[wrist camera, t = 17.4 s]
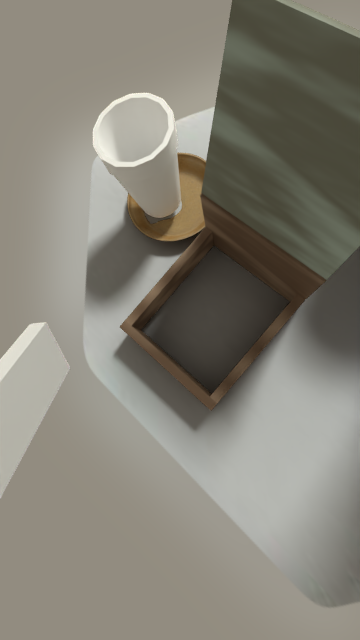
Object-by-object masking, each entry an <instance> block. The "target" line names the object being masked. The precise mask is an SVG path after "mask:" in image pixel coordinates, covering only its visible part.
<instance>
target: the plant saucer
mask: <svg viewBox="0 0 360 640" xmlns="http://www.w3.org/2000/svg"><path fill="white" fill-rule="evenodd" d="M177 157H178V168H179V180H180V191H181V201H182V209H181V211H180V212H179V213H178V214H177V215H175V216H174V217H173V218H171V219H165V220H161V221H158V223H153V224H151V223H149V221H148V220H147V218H146V216H145V214H144V210H143V209H142V208H141V207H140V206H139V205H138V203H137V202H136V201H135V200H134V199H133V198H132V196H131V195H130V194H129V193H128V200H127V206H128V212H129V215H130V218H131V220H132V222H133V223H134V225H135V226H136V227H137V228H138V229H139V230H140V231H141V232H142V233H143V234H145V235H147V236H148V237H150V238H153V239H156V240H160V241H178V240H182V239H186V238H188V237H191V236H193V235H195V234H196V233H198V232H199V231H201V230H202V229H203V228H205V221H204V215H203V210H202V204H201V198H200V195H201V191H202V185H203V179H204V173H205V167H206V161H205V160H204V159H202V158H201V157H199V156H196V155H193V154H189V153H177Z"/></svg>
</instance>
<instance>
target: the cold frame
mask: <svg viewBox="0 0 360 640" xmlns="http://www.w3.org/2000/svg"><path fill="white" fill-rule="evenodd" d="M200 198H201V204H202V210H203V215H204V221H205V228H204V229H203V230H202V232H201V233H200V234H199V235H198V236H197V237H196V238H195V240H194V241H193V242H192V243H191V244H190V245H189V247H188V248H187V249H186V250H185V251H184V252H183V254H182V255H181V256H180V257H179V258H178V259H177V261H176V262H175V263H174V264H173V265H172V266H171V268H170V269H169V270H168V271H167V272H166V273H165V275H164V276H163V277H162V278H161V279H160V280H159V282H158V283H157V284H156V285H155V286H154V287H153V289H152V290H151V291H150V292H149V293H148V294H147V296H146V297H145V298H144V299H143V300H142V301H141V303H140V304H139V305H138V306H137V307H136V308H135V309H134V311H133V312H132V313H131V314H130V315H129V316H128V318H127V319H126V320H125V321H124V322H123V323H122V325H121V326H120V328H121V329H122V330H123V331H125V332H126V333H127V334H128V335H129V336H130V337H131V338H132V339H133V340H134V341H135V342H136V343H138V344H139V345H140V346H141V347H142V348H143V349H144V350H145V351H146V352H147V353H148V354H150V355H151V356H152V357H153V358H154V359H155V360H156V361H157V362H158V363H159V364H160V365H162V366H163V367H164V368H165V369H166V370H167V371H168V372H169V373H170V374H171V375H172V376H174V377H175V378H176V379H177V380H178V381H179V382H180V383H181V384H182V385H183V386H184V387H186V388H187V389H188V390H189V391H190V392H191V393H192V394H193V395H194V396H195V397H196V398H198V399H199V400H200V401H201V402H202V403H203V404H204V405H205V406H206V407H207V408H208V409H209V410H212V409H213V408H214V407H215V406H216V404H217V403H218V402H219V401H220V400H221V399H222V397H223V396H224V395H225V394H226V393H227V391H228V390H229V389H230V388H231V387H232V386H233V384H234V383H235V382H236V381H237V380H238V378H239V377H240V376H241V375H242V374H243V373H244V371H245V370H246V369H247V368H248V367H249V366H250V364H251V363H252V362H253V361H254V360H255V358H256V357H257V356H258V355H259V354H260V353H261V351H262V350H263V349H264V348H265V347H266V345H267V344H268V343H269V342H270V341H271V340H272V338H273V337H274V336H275V335H276V334H277V332H278V331H279V330H280V329H281V328H282V327H283V325H284V324H285V323H286V322H287V321H288V320H289V318H290V317H291V316H292V315H293V314H294V312H295V311H296V310H297V309H298V308H299V307H300V305H301V304H302V303H303V302H304V301H305V299H307V298H308V297H309V296H310V295H311V294H312V293H313V292H314V291H315V290H317V289H318V288H319V287H320V286H321V285H322V284H323V283H324V282H325V281H326V280H327V279H328V278H329V277H330V276H331V275H332V274H333V273H334V272H335V271H336V270H337V269H338V268H339V267H340V266H341V265H342V264H343V263H344V262H345V261H346V260H347V259H348V258H349V257H350V256H351V255H352V254H353V253H354V252H355V251H356V250H357V249H358V248H359V247H360V31H359V30H357V29H355V28H353V27H350V26H348V25H346V24H343V23H341V22H339V21H337V20H334V19H332V18H330V17H328V16H326V15H323V14H321V13H319V12H316V11H314V10H312V9H310V8H308V7H305V6H303V5H301V4H299V3H296V2H294V1H292V0H232V6H231V12H230V18H229V24H228V30H227V36H226V43H225V49H224V55H223V61H222V68H221V74H220V80H219V86H218V92H217V98H216V105H215V111H214V117H213V123H212V129H211V136H210V142H209V148H208V154H207V160H206V167H205V173H204V179H203V185H202V191H201V195H200ZM213 246H215V247H217V248H218V249H219V250H221V251H222V252H224V253H225V254H226V255H228V256H229V257H230V258H232V259H233V260H234V261H236V262H237V263H238V264H240V265H241V266H242V267H244V268H245V269H246V270H248V271H249V272H251V273H252V274H253V275H255V276H256V277H257V278H259V279H260V280H261V281H263V282H264V283H265V284H267V285H268V286H269V287H271V288H272V289H274V290H275V291H276V292H278V293H279V294H280V295H282V296H283V297H284V298H286V299H287V300H288V301H290V302H289V304H288V305H287V306H286V307H285V308H284V309H283V311H282V312H281V313H280V314H279V315H278V317H277V318H276V319H275V320H274V321H273V322H272V324H271V325H270V326H269V327H268V328H267V329H266V331H265V332H264V333H263V334H262V335H261V337H260V338H259V339H258V340H257V341H256V342H255V344H254V345H253V346H252V347H251V348H250V350H249V351H248V352H247V353H246V354H245V355H244V357H243V358H242V359H241V360H240V361H239V362H238V364H237V365H236V366H235V367H234V368H233V370H232V371H231V372H230V373H229V374H228V375H227V377H226V378H225V379H224V380H223V381H222V382H221V384H220V385H219V386H218V387H217V388H216V390H215V391H214V392H213V393H211V392H210V391H208V390H207V389H206V388H205V387H204V386H203V385H202V384H201V383H200V382H198V381H197V380H196V379H195V378H194V377H193V376H192V375H191V374H190V373H188V372H187V371H186V370H185V369H184V368H183V367H182V366H181V365H180V364H178V363H177V362H176V361H175V360H174V359H173V358H172V357H171V356H170V355H168V354H167V353H166V352H165V351H164V350H163V349H162V348H161V347H160V346H158V345H157V344H156V343H155V342H154V341H153V340H152V339H151V338H150V337H148V336H147V335H146V334H145V333H144V332H143V331H142V329H143V327H144V326H145V325H146V324H147V323H148V322H149V320H150V319H151V318H152V317H153V316H154V315H155V313H156V312H157V311H158V310H159V309H160V308H161V306H162V305H163V304H164V303H165V302H166V301H167V299H168V298H169V297H170V296H171V295H172V294H173V292H174V291H175V290H176V289H177V288H178V287H179V285H180V284H181V283H182V282H183V281H184V280H185V278H186V277H187V276H188V275H189V274H190V273H191V271H192V270H193V269H194V268H195V267H196V266H197V264H198V263H199V262H200V261H201V260H202V259H203V257H204V256H205V255H206V254H207V253H208V252H209V250H210V249H211V248H212V247H213Z"/></svg>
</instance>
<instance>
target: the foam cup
mask: <svg viewBox="0 0 360 640" xmlns="http://www.w3.org/2000/svg"><path fill="white" fill-rule="evenodd" d="M93 147H94V148H95V150H96V152H97V153H98V155H99V157H100V158H101V160H102V161H103V163H104V165H105V166H106V168H107V170H108V171H109V173H110V174H112V175H114V176H115V178H116V179H117V180H118V181H119V182H120V183H121V185H122V186H123V187H124V188H125V189H126V190H127V192H128V193H129V194H130V195H131V196H132V198H133V199H134V200H135V201H136V202H137V203H138V205H139V206H140V207H141V208H142V209H143V210H144V212H146V214H148V215H150V216H152V217H156V218H163V217H166V216H168V215H171V214H172V213H173V212H174V211H175V210H176V209H177V208H178V206H179V204H180V201H181V191H180V180H179V168H178V157H177V147H178V137H177V128H176V124H175V119H174V115H173V111H172V110H171V109H170V107H169V106H168V105H167V103H166V102H165V101H164V99H162V98H160V97H157V96H155V95H152V94H150V93H135V94H134V93H133V94H128V95H126V96H124V97H122V98H120V99H117V100H115V101H113V102H112V103H111V104H110V105H109V106H108V107H107V108H106V109H105V110H104V111H103V112H102V113H101V114H100V115H99V118H98V120H97V122H96V124H95V126H94V129H93Z"/></svg>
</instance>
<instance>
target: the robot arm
mask: <svg viewBox="0 0 360 640" xmlns="http://www.w3.org/2000/svg"><path fill="white" fill-rule="evenodd" d="M69 369H70V366H69V364H68V363H67V361H66V359H65V357H64V355H63V353H62V351H61V349H60V347H59V345H58V344H57V342H56V340H55V338H54V336H53V334H52V332H51V330H50V329H49V327H48V325H47V323H46V322H45V323H34V324H30V325H29V326H28V327H27V328H26V330H25V331H24V332H23V333H22V334H21V336H20V337H19V338H18V339H17V340H16V341H15V343H14V344H13V345H12V347H10V349H9V350H8V351H7V352H6V353H5V355H4V356H3V357H2V358H1V359H0V498H1V496H2V494H3V492H4V490H5V488H6V487H7V485H8V483H9V481H10V479H11V477H12V476H13V474H14V472H15V470H16V468H17V466H18V464H19V462H20V460H21V458H22V457H23V455H24V453H25V451H26V449H27V448H28V446H29V444H30V442H31V440H32V438H33V436H34V435H35V433H36V431H37V428H38V427H39V425H40V423H41V421H42V420H43V418H44V416H45V414H46V412H47V410H48V408H49V407H50V405H51V403H52V401H53V399H54V397H55V395H56V393H57V392H58V390H59V388H60V386H61V384H62V382H63V380H64V379H65V377H66V375H67V373H68V371H69Z"/></svg>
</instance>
